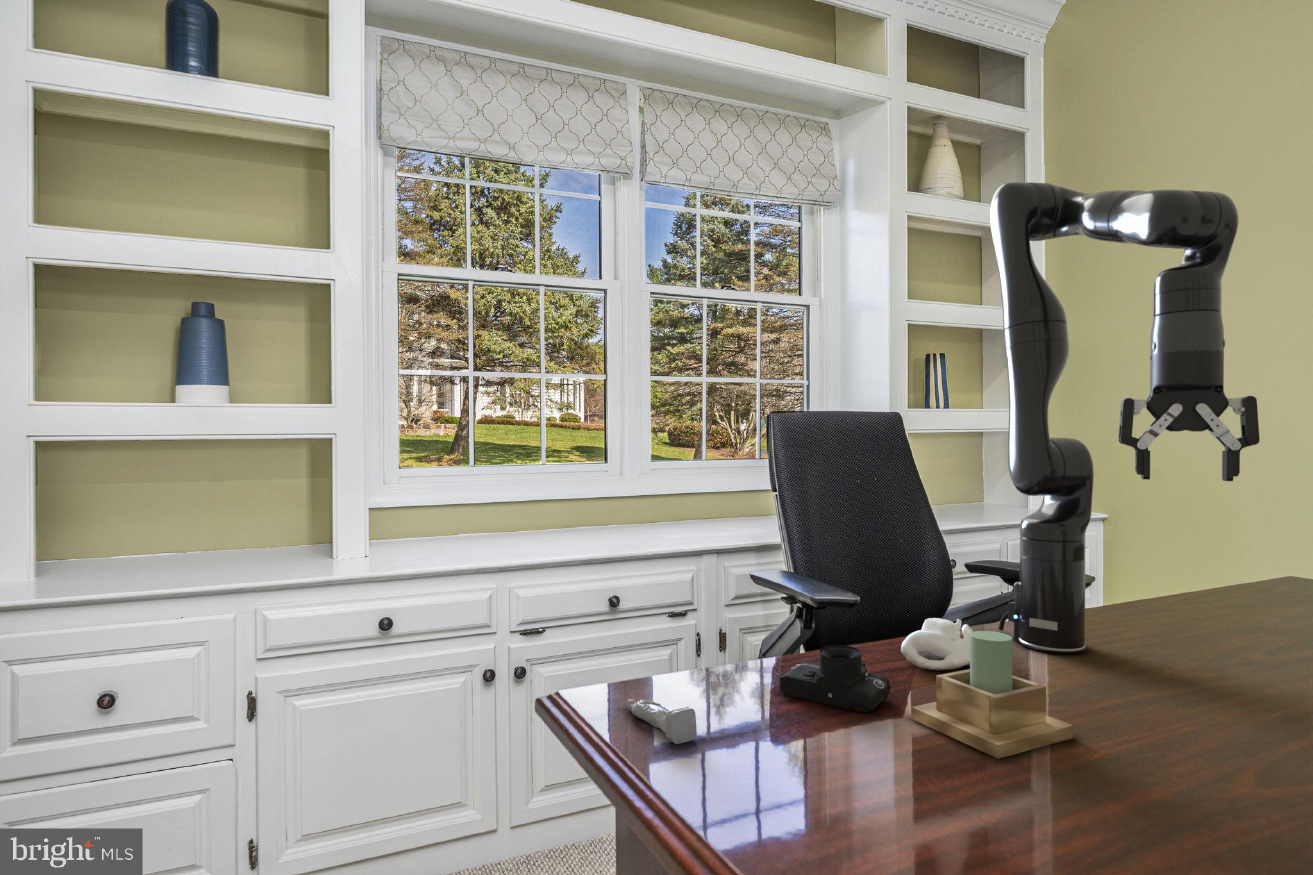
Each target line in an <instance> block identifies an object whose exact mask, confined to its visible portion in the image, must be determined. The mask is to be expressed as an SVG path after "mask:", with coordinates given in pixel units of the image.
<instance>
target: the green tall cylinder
mask: <svg viewBox="0 0 1313 875" xmlns="http://www.w3.org/2000/svg"><path fill="white" fill-rule="evenodd" d="M969 669H970V686H973V687H976V688H978V689H981V690H984V691H987V692H989V693H992V694H994V695H995V694H999V693H1004V692H1009V691H1012V675H1013V637H1012V636H1011V635H1009V634H1007V633H1003V632H998V631H994V630H993V631H992V630H976V631H975V630H974V631H973V632H972V633H971V634H970V666H969Z"/></svg>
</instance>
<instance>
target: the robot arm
mask: <svg viewBox="0 0 1313 875" xmlns="http://www.w3.org/2000/svg"><path fill="white" fill-rule="evenodd" d="M1238 212H1239V211H1238V209H1237V206H1236V204H1235V201H1233V199H1232V198H1231V197H1230V196H1229V195H1227V194H1226V193H1223V192H1219V191H1207V190H1206V191H1205V190H1189V189H1153V190H1135V189H1132V190H1131V189H1129V190H1128V189H1127V190H1125V189H1121V190H1120V189H1118V190H1103V191H1098V192H1095V193H1089V192H1082V191H1078V190H1074V189H1071V188H1067V187H1064V186H1060V185H1056V184H1053V183H1048V182H1032V181H1031V182H1030V181H1029V182H1027V181H1026V182H1025V181H1012V182H1006V183H1004V184H1002V185H1000V186H999V187H998V188H997V189H996V191H995V192H994V194H993V196H992V199H991V203H990V209H989V225H990V233H991V240H992V245H993V249H994V255H995V261H996V266H997V272H998V279H999V286H1000V297H1001V307H1002V321H1003V322H1002V327H1003V341H1004V354H1005V362H1006V370H1007V386H1008V387H1007V389H1008V434H1007V435H1008V436H1007V437H1008V439H1007V440H1008V441H1007V463H1008V464H1007V466H1008V473H1009V476H1010V480H1011V482H1012V484H1013V486H1014V488H1015V489H1016V490H1017V491H1018V492H1019V493H1020V494H1023V495H1025V496H1029V497H1030V496H1031V497H1043V498H1042V502H1041V505H1040V506H1039V507H1038V508H1037V509H1036V510H1035V511H1033V513H1031V514H1029V515H1027V516H1025V517H1023V518H1022V519H1021V520H1020V524H1019V581H1016V582H1014V584H1013V601H1009V602H1008V603H1007V612H1005V613H1004V614H1002V617H1001V618H1000V619H999V620H1000V621H999V625H998V631H1001V632H1003V631H1004V628H1005V624H1006V621H1007V620H1008V622H1011V623H1013V641H1014V642H1018V643H1019V644H1020V645H1021V646H1024V647H1025V648H1029V649H1032V650H1036V651H1040V652H1045V653H1052V654H1064V655H1065V654H1067V655H1069V654H1080V653H1084V652H1085V651H1086V534H1087V533H1086V531H1087V529H1088V526H1089V525H1090V522H1091V518H1092V511H1093V510H1092V508H1093V492H1094V478H1095V477H1094V471H1095V470H1094V463H1093V457H1092V454H1091V452H1090V450H1089V448H1088V447H1087V446H1086V444H1085V443H1084V442H1082V441H1080V440H1078V439H1076V438H1071V437H1050V428H1049V408H1050V402H1051V399H1052V395H1053V393H1054V391H1055V389H1056V387H1057V384H1058V382H1059V381H1060V379H1061V377H1062V374H1063V372H1064V370H1065V367H1066V365H1067V362H1068V360H1069V354H1070V340H1069V330H1068V320H1067V315H1066V310H1065V308H1064V306H1063V303H1061V301H1060V298H1058V296H1057V295H1056V293H1055V292H1054V290H1053V289H1052V288H1051V286H1050V285H1049V283H1048V282H1047V281H1046V279H1045V277H1043V275H1042V274H1041V273H1040V271H1039V269H1038V267H1037V266H1036V263H1035V260H1034V257H1033V254H1032V247H1031V242H1040V241H1041V242H1043V241H1048V240H1054V239H1060V238H1065V237H1071V236H1072V237H1073V236H1084V237H1086V238H1088V239H1091V240H1094V241H1098V242H1099V241H1100V242H1105V243H1115V244H1116V243H1117V244H1127V245H1128V244H1129V245H1138V246H1143V247H1150V248H1159V249H1175V250H1176V249H1177V250H1178V249H1180V250H1181V249H1182V250H1183V254H1182V259H1181V261H1180V263H1179V265H1178V266H1174V267H1169V268H1166V269H1164V270H1161V271H1160V272H1159V273H1158V274H1157V275H1156V276H1155V278H1154V280H1153V288H1152V290H1153V291H1152V325H1151V331H1150V361H1149V362H1150V363H1149V364H1150V365H1149V366H1150V372H1149V374H1150V375H1149V376H1150V378H1149V379H1150V382H1149V383H1150V385H1149V390H1150V391H1149V396H1148V397H1147V398H1146V399H1138V398H1137V399H1135V398H1134V399H1133V398H1131V397H1126V398H1124V399H1122V400H1121V402H1120V414H1119V415H1120V416H1119V425H1118V436H1117V437H1118V439H1117V440H1118V442H1119V444H1121V445H1124V446H1128V447H1131V448H1133V450H1134V452H1135V453H1134V454H1135V455H1134V458H1135V460H1134V470H1135V473H1136V475H1137V476H1138V475H1140V479H1141V480H1151V450H1149V446H1150V445H1151V444H1152V443H1153V442H1154V441H1155V440H1156V439H1157V438H1158V437H1159V436H1161V434H1162V433H1163V432H1164V431H1168V432H1183V431H1184V432H1185V431H1188V432H1193V433H1194V432H1197V433H1198V432H1205V431H1208V432H1209V434H1211V436H1212V437H1214V438H1215V439H1216V440H1217V441H1218V442H1219V443H1220V444H1221V445H1222V447H1223V448H1224V450H1222V451H1221V459H1222V460H1221V479H1222V481H1223V482H1233V481H1234V477H1236V478H1237V477H1239V475H1240V472H1241V451H1242V450H1243V449H1244V448H1247V447H1251V446H1256V445H1258V444H1259V443H1260V440H1261V439H1260V427H1259V426H1260V425H1259V410H1258V399H1257V397H1256V396H1254V395H1247V396H1242V397H1232V398H1228V397H1227V396H1226V394H1225V387H1224V386H1225V382H1224V381H1225V380H1224V379H1225V347H1226V340H1225V331H1224V330H1225V329H1224V323H1223V316H1222V293H1223V292H1222V291H1223V290H1222V289H1223V288H1222V287H1223V286H1222V280H1223V276H1224V273H1225V270H1226V269H1227V265H1228V262H1229V258H1230V255H1231V252H1232V249H1233V246H1234V243H1235V240H1236V237H1237V233H1238V229H1239V213H1238ZM1228 407H1229V408H1231V409H1232V411H1233V413H1234V414H1235V415H1238V416H1239V422H1240V423H1239V424H1240V434H1241V436H1240V437H1237V438H1236V437H1235V435H1233V433H1232V432H1231V431H1230V429H1229V428H1228V427H1227V425H1225V423H1224V422H1223V421H1222V420H1221V419H1220V417H1221V416H1222V415H1223V414H1224V412H1225V411H1226V410H1227V409H1228ZM1143 408H1146V410H1147V411H1148V413H1149V414H1150V415H1151V416H1152V417H1153V418H1154V420H1153V421H1152V422H1151V423H1150V424H1149V426H1147V428H1146V429H1145V430H1144V432H1142V434H1141V435H1140V436H1139V437H1138V438H1137V437H1136V436H1135V437H1134V436H1133V429H1134V428H1133V427H1134V416H1135V417H1136V416H1138V415H1140V413H1141V411H1142V409H1143Z"/></svg>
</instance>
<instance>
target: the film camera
mask: <svg viewBox="0 0 1313 875" xmlns="http://www.w3.org/2000/svg"><path fill="white" fill-rule="evenodd" d="M818 651H819V652H818V662H814V661H809V660H807V661H803V662H801V663H800V664H799V663H797V664H796V665H794V666H792V667H791V668H790V670H789V671H787V672H786V673H784V674H783V675H781V676H780V677H779V691H780V692H782V693H783V694H784V695H786V696H790V697H794V698H795V697H796V698H799V699H802V700H806V701H810V702H815V703H820V704H823V705H828V706H833V707H836V708H841V709H845V710H852V711H855V712H856V711H857V712H860V713H870V712H873V711H874V710H875V708H877V706H878V705H880V704H881V702H883V701H884V700H887V699H888V698H889V695H891V690H892V687H891V686H890V685H891V684H890V682H891V681H890V680H889V679H888V678H887V677H885V676H883V675H880V674H875V673H869V672H868V669H867V667H866V661H865V660H862V652H861V650H860V649H858V648H856V647H854V646H851V645H843V644H832V645H826V646H822V647H821V648H820V649H819V650H818Z"/></svg>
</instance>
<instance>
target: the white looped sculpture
mask: <svg viewBox="0 0 1313 875" xmlns="http://www.w3.org/2000/svg"><path fill="white" fill-rule="evenodd" d="M960 630H961V631H960ZM972 632H974V629H973V628H972V627H970V625H969V624H967V623H966V624H963V625H962V619H959V618H957V619H956V622H955V623H954V622H953V621H951V620H949V619H945V618H939V617H929V618H926V619H925V620H924V622H923V624H922V627H921V629H920V630H916V631H913V632H911V633H910V634H908V635H907V636H906V637H905V639H904V640H903V641H902V643H901V644H900V652H901V654H902V655H903V656H904V657H905V659H906V660H907V661H908V662H910V663H911V664H913V665H914V666H916V667H918V668H920V669H924V670H925V669H926V670H930V671H933V670H934V671H938V672H939V671H944V670H945V671H946V670H947V671H952V670H956V669H960V668H963V667H964V666H967V667H968V666H969V667H970V634H971V633H972ZM961 635H963V638H961Z"/></svg>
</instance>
